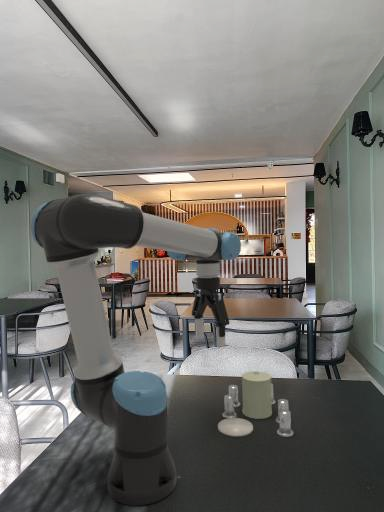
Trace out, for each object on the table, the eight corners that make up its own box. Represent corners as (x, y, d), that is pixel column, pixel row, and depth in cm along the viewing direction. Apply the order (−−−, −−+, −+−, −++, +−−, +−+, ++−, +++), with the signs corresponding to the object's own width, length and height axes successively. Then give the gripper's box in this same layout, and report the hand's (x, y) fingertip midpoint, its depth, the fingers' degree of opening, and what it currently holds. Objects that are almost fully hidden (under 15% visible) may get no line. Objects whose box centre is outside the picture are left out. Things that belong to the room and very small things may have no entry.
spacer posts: (302, 435, 103) (302, 413, 103) (233, 441, 101) (232, 418, 101) (273, 398, 128) (272, 381, 128) (216, 402, 126) (216, 384, 126)
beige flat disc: (257, 435, 104) (257, 432, 104) (221, 437, 103) (221, 435, 103) (247, 418, 114) (247, 416, 114) (215, 421, 113) (215, 419, 113)
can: (270, 406, 123) (269, 369, 122) (273, 419, 113) (273, 379, 113) (241, 405, 123) (241, 369, 123) (242, 418, 114) (242, 379, 114)
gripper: (239, 278, 112) (241, 349, 113) (200, 273, 134) (201, 333, 135) (218, 280, 109) (220, 353, 109) (180, 275, 131) (182, 335, 131)
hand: (209, 342), depth 122 cm, fingers open, 13 cm apart
